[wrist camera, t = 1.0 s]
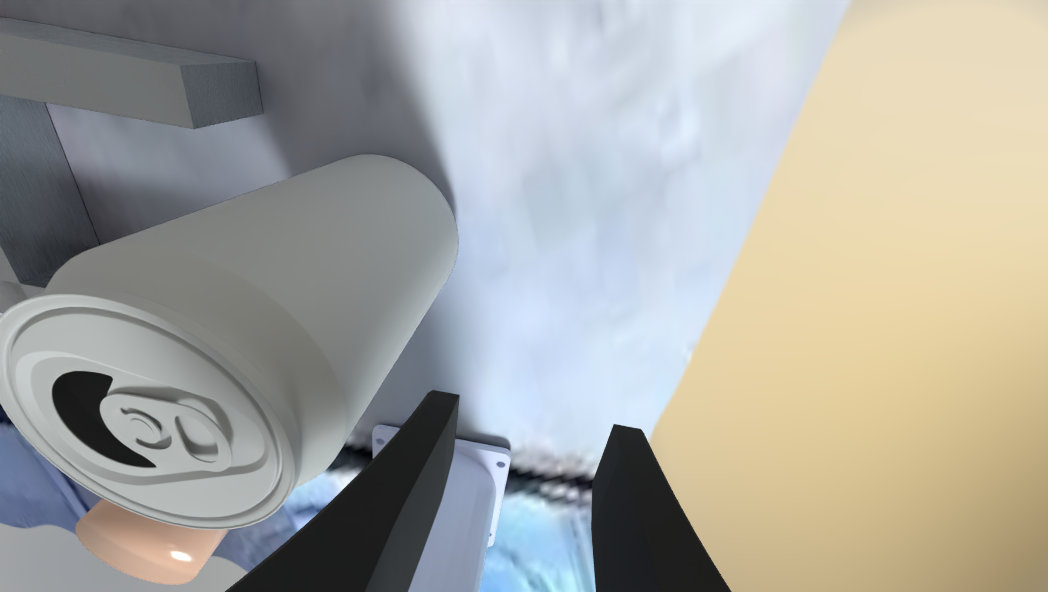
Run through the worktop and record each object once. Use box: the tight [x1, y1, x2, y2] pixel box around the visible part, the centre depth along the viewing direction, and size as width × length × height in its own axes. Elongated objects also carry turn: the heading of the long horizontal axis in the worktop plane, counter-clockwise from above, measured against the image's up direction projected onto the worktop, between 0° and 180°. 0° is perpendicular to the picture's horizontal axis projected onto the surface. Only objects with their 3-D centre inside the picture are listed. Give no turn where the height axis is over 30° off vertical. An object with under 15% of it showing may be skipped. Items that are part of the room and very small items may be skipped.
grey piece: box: [0, 16, 263, 313], centre depth 17 cm, size 11×11×4 cm
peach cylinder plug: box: [75, 498, 229, 585], centre depth 27 cm, size 7×7×5 cm
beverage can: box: [0, 154, 459, 530], centre depth 13 cm, size 6×6×12 cm
